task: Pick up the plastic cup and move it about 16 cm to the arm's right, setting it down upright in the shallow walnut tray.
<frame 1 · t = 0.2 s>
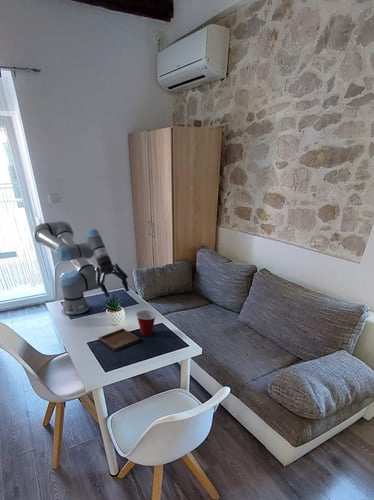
hand: (118, 293, 176), 16 cm above the table, tool tilted 35°, fingers open, 13 cm apart
tray: (119, 340, 164), on the table
plastic cup: (147, 334, 170), on the table
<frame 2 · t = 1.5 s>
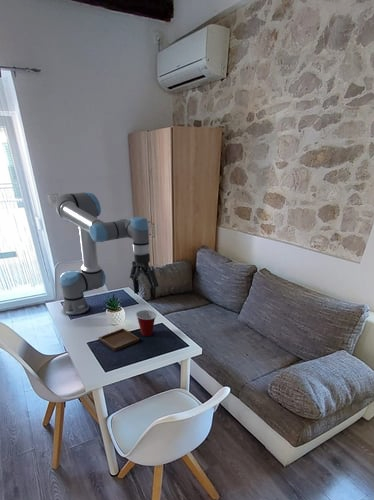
hand: (144, 296, 159), 22 cm above the table, tool pointing down, fingers open, 13 cm apart
nothing on the table moved.
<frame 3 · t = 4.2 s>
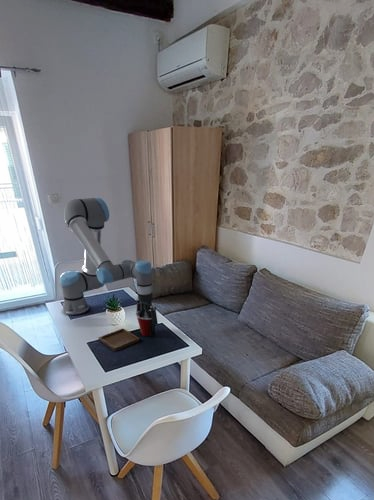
hand: (147, 332, 170), 1 cm above the table, tool pointing down, fingers closed on plastic cup, 8 cm apart
plastic cup: (147, 334, 170), on the table, touching gripper
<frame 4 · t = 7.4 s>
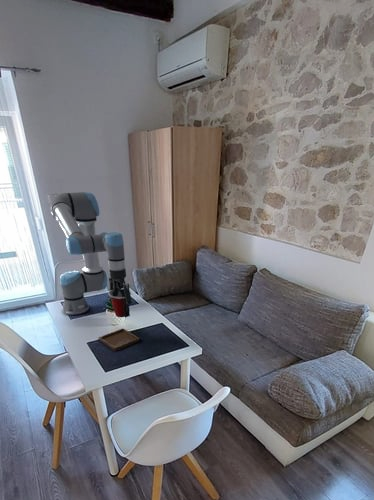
hand: (122, 313, 157), 15 cm above the table, tool pointing down, fingers closed on plastic cup, 8 cm apart
plastic cup: (122, 315, 158), point 14 cm above the table, touching gripper
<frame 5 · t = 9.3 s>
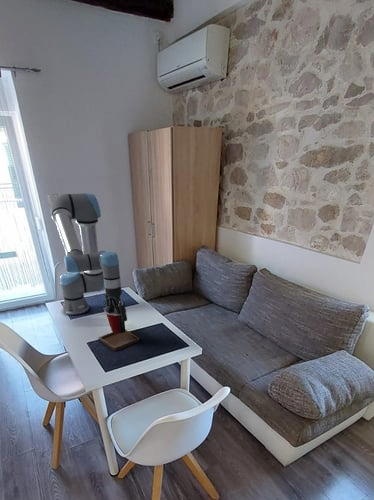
hand: (118, 329, 160), 7 cm above the table, tool pointing down, fingers closed on plastic cup, 8 cm apart
plastic cup: (118, 331, 161), point 6 cm above the table, touching gripper
when the fingers open (1 cm above the table, at t = 11.0 s): plastic cup stays where it is, resting on tray.
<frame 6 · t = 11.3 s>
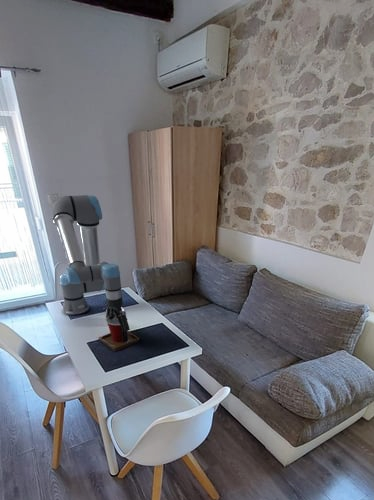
hand: (119, 337, 163), 2 cm above the table, tool pointing down, fingers open, 11 cm apart
plastic cup: (119, 339, 164), resting on tray
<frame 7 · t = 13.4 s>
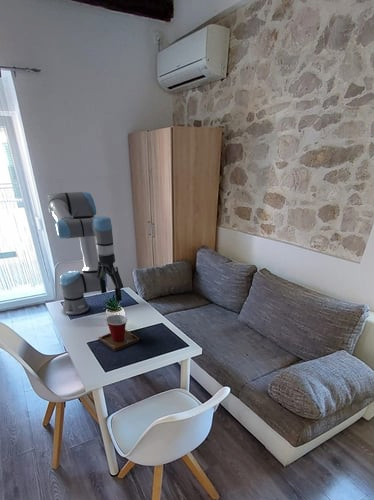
hand: (111, 296, 156), 22 cm above the table, tool pointing down, fingers open, 13 cm apart
nothing on the table moved.
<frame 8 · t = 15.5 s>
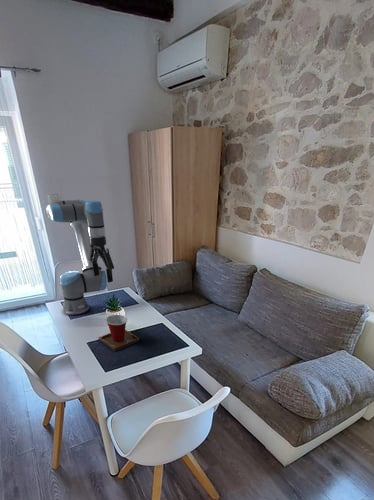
hand: (103, 278, 165), 27 cm above the table, tool pointing down, fingers open, 13 cm apart
nothing on the table moved.
at the end: plastic cup inside the target area in the tray (0.3 cm from its centre), point 0.3 cm above the tray's base; plastic cup tilted 0°; the gripper is holding nothing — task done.
